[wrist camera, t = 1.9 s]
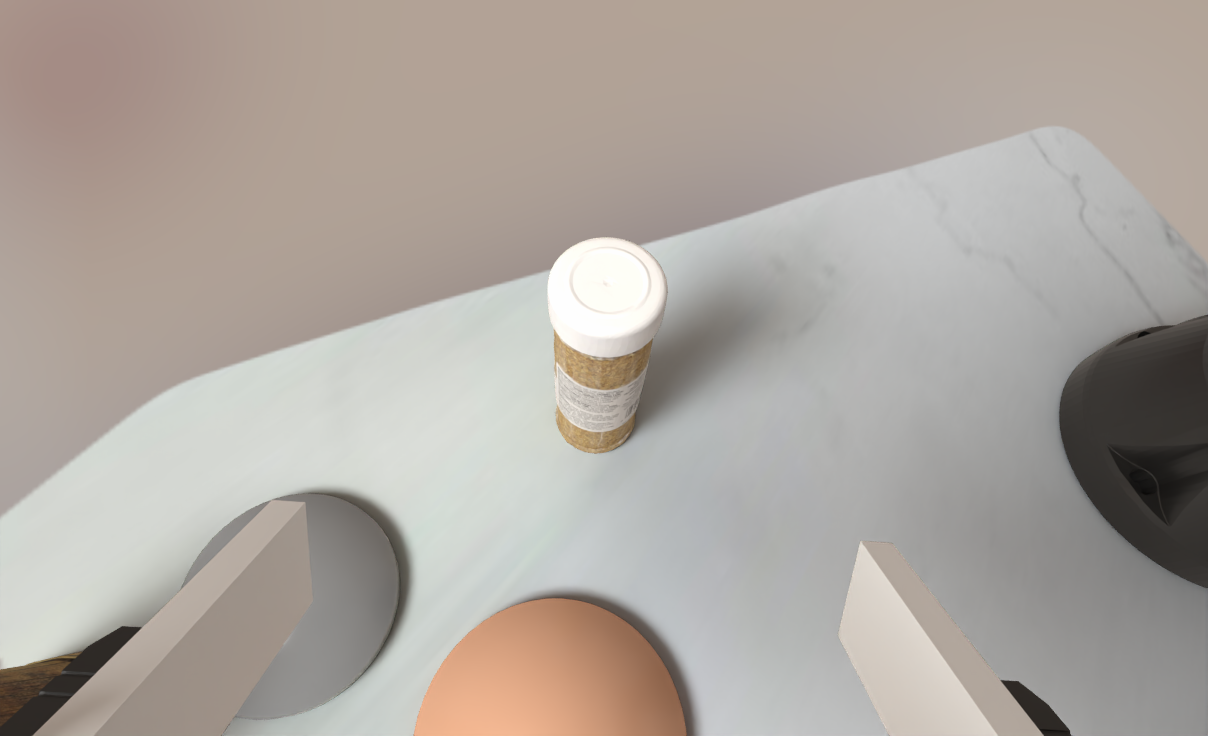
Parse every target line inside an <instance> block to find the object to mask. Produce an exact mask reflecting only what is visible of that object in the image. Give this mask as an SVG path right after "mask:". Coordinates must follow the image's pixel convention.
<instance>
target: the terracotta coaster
mask: <svg viewBox="0 0 1208 736" xmlns="http://www.w3.org/2000/svg"><path fill="white" fill-rule="evenodd" d="M414 736H687V734H686V726H685V721H684V715H683V710H682V706H681V703H680V700H679V697H678V693H677V690H676V688H675V686H674V683H673V681H672V679H671V676H670V674H669V672H668V671H667V669H666V667H665V665H664V664H663V662H662V660H661V658H660V657H659V656H658V654H657V653H656V652H655V650H654V649H653V648H652V646H651V645H650V644H649V642H648V641H647V640H646V639H645V638H644V637H643V636H642V635H641V634H640V633H639V632H638V631H637V630H636V629H634V628H633V627H632V626H631V625H629V624H628V623H627V622H626V621H624V620H623V619H621V618H620V617H618V616H616V615H615V614H613V613H611V612H610V611H607V610H605V609H603V608H600V607H598V606H596V605H593V604H589V603H586V602H582V601H578V600H571V599H563V598H554V599H540V600H533V601H528V602H525V603H521V604H518V605H514V606H512V607H510V608H507V609H505V610H503V611H501V612H498V613H496V614H495V615H493V616H491V617H490V618H488V619H487V620H485V621H483V622H482V623H481V624H479V625H478V626H477V627H476V628H474V629H473V630H472V631H470V632H469V633H468V634H467V635H466V636H465V637H464V638H463V639H462V640H461V641H460V642H459V643H458V644H457V645H456V646H455V647H454V649H453V650H452V651H451V652H450V654H449V655H448V656H447V658H446V659H445V660H444V661H443V663H442V665H441V666H440V668H439V670H438V671H437V673H436V674H435V676H434V678H433V680H432V682H431V684H430V686H429V688H428V690H427V692H426V695H425V697H424V700H423V703H422V706H421V708H420V711H419V714H418V718H417V722H416V727H415V731H414Z"/></svg>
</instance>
